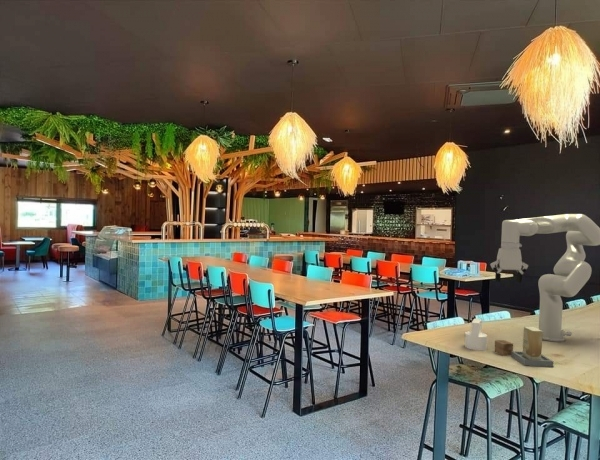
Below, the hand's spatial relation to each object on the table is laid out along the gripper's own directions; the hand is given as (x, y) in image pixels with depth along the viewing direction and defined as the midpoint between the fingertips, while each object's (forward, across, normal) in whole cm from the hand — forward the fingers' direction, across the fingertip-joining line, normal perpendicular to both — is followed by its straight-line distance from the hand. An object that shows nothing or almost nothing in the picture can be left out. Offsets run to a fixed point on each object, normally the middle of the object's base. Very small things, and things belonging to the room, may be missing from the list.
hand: (508, 281), depth 189 cm
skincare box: (+27, +3, +28) cm, 39 cm away
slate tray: (+28, +3, +28) cm, 40 cm away
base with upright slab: (+28, +19, +12) cm, 36 cm away
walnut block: (+28, +10, +19) cm, 36 cm away
